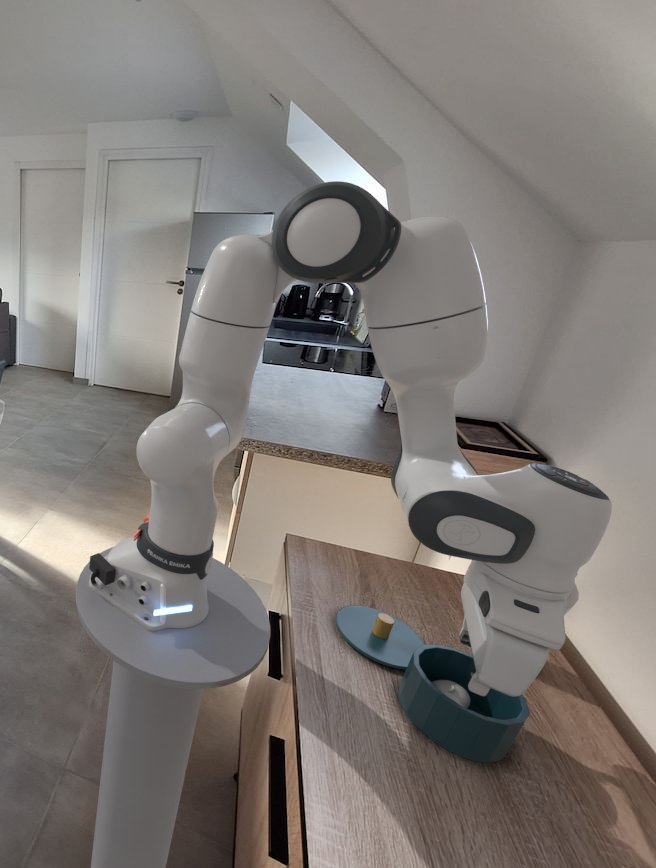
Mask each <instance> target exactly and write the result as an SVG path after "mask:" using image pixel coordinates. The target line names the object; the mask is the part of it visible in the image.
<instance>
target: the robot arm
mask: <svg viewBox="0 0 656 868" xmlns="http://www.w3.org/2000/svg"><path fill="white" fill-rule="evenodd" d="M478 261H479V260H478V258H477V255H476V251H475V249H474V246H473V244H472V241H471V239H470V237H469V235H468V232H467V229H466V228H465V226H463V224H462V223H461V222H460V221H458V220H456V219H454V218H452V217H448V216H441V215H438V216H437V215H430V216H429V215H428V216H421V217H415V218H412V219H408V220H404V221H400V220H399V219H398V218H397V217H396V216H394V215H393V214H392V213H391V212H390V211H389V210H388V209H387V208H386V207H385V206H384V205H383V204H381V202H380V201H379V200H378V199H377V198H376V197H375V196H374V195H373V194H372V193H371V192H369V191H368V190H366V189H365V188H363V187H361V186H359V185H357V184H354V183H351V182H347V181H325V182H321V183H317V184H315V185H313V186H310V187H307V188H306V189H305V190H303V191H301V192H300V193H298V194H297V195H295V196H294V197H293V198H292V199H291V200H290V201H289V202H287V204H286V205H285V206H284V207H283V209H282V210H281V212H280V213H279V215H278V216H277V219H276V220H275V223H274V225H273V229H272V230H271V231H270V232H267V233H265V234H251V233H243V234H236V235H232V236H230V237H227V238H224V239H223V240H221V241H220V242H219V243H217V245H216V246H215V248H214V249H213V250H212V252H211V255H210V257H209V259H208V260H207V263H206V266H205V268H204V270H203V272H202V275H201V277H200V281H199V283H198V285H197V289H196V292H195V295H194V298H193V302H192V305H191V308H190V313H189V316H188V321H187V325H186V327H185V328H186V329H185V333H184V337H183V339H182V344H181V349H180V352H179V357H178V365H179V367H180V369H181V371H182V391H181V397H180V400H179V401H178V403H177V404H176V406H175V407H174V408H173V409H170V410H168V411H166V412H165V413H163V414H161V415H159V416H158V417H156V418H155V419H153V420H152V422H151V423H150V424H149V425H148V426H147V427H146V428H145V430H144V431H143V432H142V433H141V435H140V436H139V438H138V439H137V443H136V449H135V451H136V453H135V455H136V459H137V463H138V465H139V467H140V469H141V471H142V472H143V474H145V476H146V477H147V478H148V479H149V481H150V489H151V490H150V491H151V499H150V507H149V508H150V510H149V514H147V515H146V517H145V518H143V523H141V524H140V525H139V526H138V528H137V531H136V532H135V533H134V535H133V536H130V537H129V536H128V537H126V538H124V539H121V540H119V542H117V543H116V544H115V545H114V546H112V547H113V548H112V547H111V548H112V550H111V551H110V552H109V554H108V555H107V556H106V557H103V556H102V555H101V554H100V553H101V552H98V553H95V554H93V555H90V556H89V561H90V565H89V569H90V570H91V571H92V573H91V575H90V580H89V587H90V588H91V589H92V590H93V591H94V592H96V593H97V594H98V595H100V596H101V597H103V598H104V599H105V600H107V601H108V602H110V603H111V604H112V605H114V606H115V607H116V608H118V609H119V610H121V611H122V612H123V613H125V614H126V615H127V616H129V617H130V618H132V619H133V620H134V621H136V622H137V623H139V624H140V625H141V626H143V627H144V628H145V629H147V630H149V631H159V630H162V629H165V628H188V627H193V626H195V625H198V624H199V623H201V622H202V621H203V620H204V619H205V618H206V617H207V615H208V612H209V603H208V597H207V574H208V573H209V571H210V567H211V563H212V558H214V546H215V542H214V539H213V538H214V533H215V527H216V522H217V517H218V511H219V501H218V499H217V497H216V495H215V487H214V479H215V474H216V471H217V469H218V466H219V465H220V463H221V462H222V461H223V459H224V458H225V457H227V456H228V455H229V454H230V453H231V452H233V451H234V450H235V449H236V448H237V447H238V445H239V444H240V442H241V441H242V439H243V436H244V433H245V432H246V430H247V429H246V428H247V423H248V418H247V416H248V410H249V405H250V398H251V391H252V385H253V380H254V377H255V373H256V370H257V366H258V363H259V360H260V358H261V357H260V356H261V354H262V351H263V348H264V345H265V342H266V339H267V336H268V333H269V330H270V327H271V323H272V321H273V318H274V314H275V312H276V308H277V306H278V303H279V301H280V299H281V296H282V294H283V293H284V291H285V290H286V289H287V288H288V286H290V285H291V284H292V283H294V282H296V281H297V280H298V281H301V282H304V283H308V284H310V283H311V284H354V285H355V287H356V288H357V289H358V292H359V294H360V296H361V299H362V303H363V307H364V308H363V309H364V313H365V322H366V326H367V328H366V329H367V334H368V339H369V343H370V347H371V350H372V353H373V356H374V360H375V362H376V364H377V367H378V370H379V371H380V374H381V376H382V378H383V380H384V381H385V382H386V383H387V385H388V386H389V388H390V390H391V391H392V394H393V397H394V401H395V408H396V414H397V416H396V417H397V423H398V429H399V437H400V449H399V453H398V455H397V457H396V460H395V462H394V464H393V466H392V470H391V473H390V474H391V475H390V484H391V487H392V490H393V492H394V493H395V495H396V497H397V499H398V501H399V504H400V506H401V509H402V512H403V514H404V516H405V519H406V522H407V524H408V527H409V530H410V531H411V533H412V535H413V536H414V537H415V539H416V540H417V541H418V542H419V543H421V544H422V545H423V546H424V547H426V548H428V549H429V550H431V551H432V552H433V551H434V552H436V553H439V554H441V555H444V556H450V557H455V558H460V559H465V560H471V562H470V564H469V565H468V567H467V570H466V572H465V574H464V576H463V584H462V586H461V590H460V599H461V603H462V608H463V613H464V615H463V620H462V621H463V622H462V627H461V629H460V631H459V633H458V637H459V642H460V643H461V644H462V645H464V646H468V647H469V648H471V653H472V655H473V658H474V663H475V668H476V673H475V674H474V673H471V674H470V675H469V678H468V679H467V682H468V688H469V690H470V691H471V692H474V693H476V694H478V695H481V696H486V695H487V693H488V692H489V690H490V688H492V689H494V690H496V691H499V692H501V693H503V694H506V695H508V696H511V697H516V696H520V695H523V694H525V693H526V691H527V690H528V689H529V688H530V686H531V685H532V684H533V682H534V681H535V679H536V678H537V677H538V675H539V674H540V672H541V671H542V669H543V668H544V666H545V665H546V663H547V660H548V657H549V652H550V649H551V650H553V651H559V650H561V649H562V647H563V646H564V644H565V643H566V640H567V637H566V628H565V616H564V611H565V607H566V604H567V602H566V599H567V597H568V596H569V594H570V592H571V591H572V589H573V587H574V584H575V585H576V577H575V575H576V572H577V570H578V569H579V570H580V568H582V566H584V565H586V564H587V563H588V562H589V561H590V560H592V559H591V558H592V557H593V556H594V554H595V552H596V551H597V549H598V547H599V545H600V543H601V541H602V539H603V537H604V535H605V533H606V530H607V528H608V526H609V522H610V519H611V516H612V512H613V510H612V509H613V504H612V501H611V499H610V498H609V496H608V495H607V494H606V493H605V492H604V491H603V490H601V488H599V487H598V486H597V485H596V484H594V483H593V482H592V481H589V480H587V479H585V478H584V477H581V476H580V475H578V474H575V473H573V472H570V471H568V470H565V469H562V468H560V467H558V466H553V465H549V464H546V463H545V464H542V463H534V462H533V463H529V464H526V465H524V466H522V467H520V468H517V469H513V470H508V471H504V472H498V473H491V474H478V472H477V470H476V469H475V467H474V465H473V463H472V462H471V461H470V460H469V459H468V458H467V457H466V455H465V454H464V453H463V452H462V450H461V448H460V446H459V443H458V434H457V423H456V411H455V391H456V387H457V386H458V384H459V383H460V382H461V381H462V380H465V379H466V378H468V377H469V376H470V375H472V374H473V373H474V372H475V371H476V370H478V368H479V367H480V366H481V365H482V364H483V362H484V360H485V355H486V351H487V342H488V336H489V335H488V334H489V332H488V331H489V320H488V319H489V318H488V309H487V303H486V302H487V300H486V293H485V287H484V281H483V277H482V272H481V269H480V266H479V265H480V264H479V262H478ZM579 570H578V571H579ZM577 573H578V572H577ZM146 620H147V621H146Z"/></svg>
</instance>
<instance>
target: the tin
mask: <svg viewBox="0 0 656 868" xmlns="http://www.w3.org/2000/svg"><path fill="white" fill-rule="evenodd" d="M471 673H474V674H475V673H476V668H475V663H474V658H473V654H470V653H467V652H465V651H462V650H460V649H458V648H455V647H452V646H446V645H443V644H442V645H441V644H437V643H432V644H425V645H423V646H420V647H419V648H418V649H417V650H416V651H415V652H413V655H412V657H411V659H410V662H409V664H408V666H407V669H406V670H404V674H403V676H402V678H401V679H400V683H399V685H398V690H397V691H398V692H397V696H398V700H399V704H400V706H401V709H402V710H403V712H404V713H405V715H406V716H407V718H408V719H409V720H410V722H411V723H413V725H414V726H415V727H416V728H417V729H418V730H419V731H420V732H421V733H423V734H424V735H425V736H426V737H427V738H429V739H430V740H432V741H433V742H434V743H435V744H437V745H438V746H440V747H442V748H444V749H445V750H446V751H449V752H451V753H453V754H454V755H457V756H459V757H461V758H464V759H467V760H470V761H474V762H477V763H488V764H489V763H496V762H499V761H501V760H503V759H504V758H505V756H506V755H507V754H508V751H509V750H510V748H511V747H512V744H513V743H514V741H515V740H516V738H517V736H518V734H519V733H520V731H521V730H522V728H523V726H524V724H525V723H526V721H527V719H528V717H529V716H530V714H531V711H530V708H529V705H528V701H527V699H526V697H525V696H524V695H523V694H522V695H520V696H516V697H511V696H508V695H506V694H503V693H501V692H499V691H496V690H494V689H492V688H490V690H489V692H488V693H487V695H486V696H481V695H478V694H476V693H474V692H471V691H470V690H469V688H468V682H467V679H468V678H469V675H470V674H471ZM436 680H448V681H452V682H455V683H457V684H459V685H460V686H462V687H463V688H464V689H465V690H466V691H467V693H468V694H469V696H470V705H469V707H468V708H465V707H463V706H461V705H460V704H458V703H457V702H455V701H453V700H452V699H450V698H449V697H447V696H446V695H444V694H443V693H442V692H441V691H440V690H439V689H438V688H437V687H436V686H435V685H433V684H432V683H431V682H433V681H436Z"/></svg>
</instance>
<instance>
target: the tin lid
mask: <svg viewBox="0 0 656 868" xmlns="http://www.w3.org/2000/svg"><path fill="white" fill-rule="evenodd" d="M335 625H336V627H337V628H336V629H337V630H338V632H339V634H340V635H341V636H342V638H343V639H344V640H345V641H346V642H347V643H348V644H349V645H350V646H351V647H352V648H353V649H355V650H356V651H358V652H359V653H360V654H362V655H364V656H365V657H367V658H368V659H370V660H372V661H374V662H376V663H379V664H381V665H384V666H386V667H390V668H393V669H397V670H404V671H406V669H407V666H408V664H409V662H410V659H411V657H412V655H413V652H415V651H416V650H417V649H418V648H419V647H420V646H423V645H426V644H425V642H424V641H423V639H422V638H421V636H420V635H419V634H418V633H417V632H416V631H415V630H413V628H411V627H410V626H409V625H408V624H406V623H405V622H403V621H402V620H400V619H399V618H396V617H395V616H393V615H391V614H389V613H388V612H384V611H382V610H379V609H377V608H374V607H370V606H366V605H356V604H355V605H347V606H344V607H342V608H341V609H339V610H338V611H337V613H336V617H335Z"/></svg>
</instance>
